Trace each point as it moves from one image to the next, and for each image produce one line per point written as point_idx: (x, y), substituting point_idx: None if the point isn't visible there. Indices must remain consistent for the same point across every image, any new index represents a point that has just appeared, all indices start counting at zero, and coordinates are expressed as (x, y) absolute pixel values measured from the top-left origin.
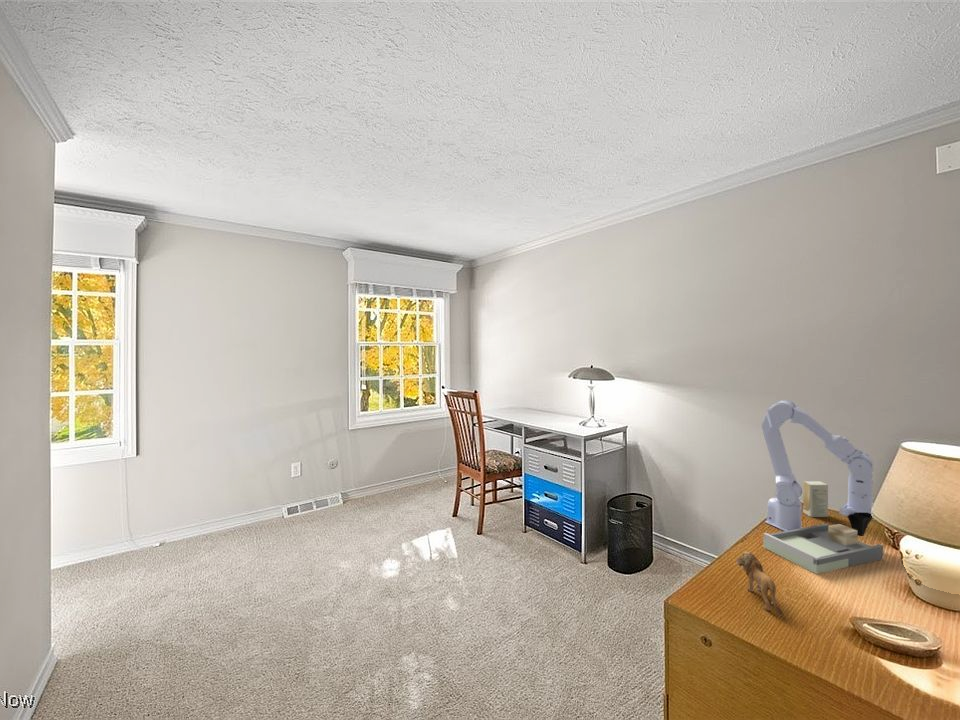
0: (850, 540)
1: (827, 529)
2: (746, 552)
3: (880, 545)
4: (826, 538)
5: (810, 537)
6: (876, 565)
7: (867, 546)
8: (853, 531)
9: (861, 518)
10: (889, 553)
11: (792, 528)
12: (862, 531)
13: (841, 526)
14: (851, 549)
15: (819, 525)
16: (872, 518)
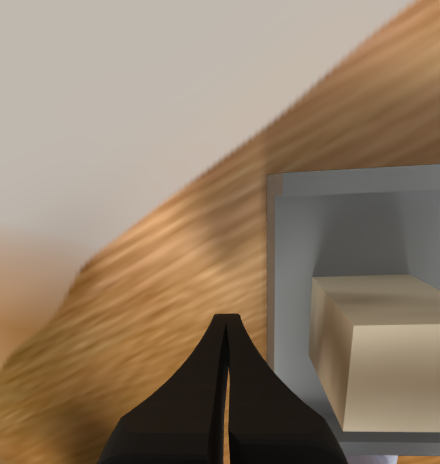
0: (386, 287)
1: None
2: None
3: (293, 182)
4: None
5: None
6: (370, 135)
7: (299, 236)
8: (405, 323)
9: (339, 444)
10: (171, 207)
11: (378, 459)
12: (239, 329)
13: (383, 402)
14: (432, 234)
15: None
16: (139, 411)
